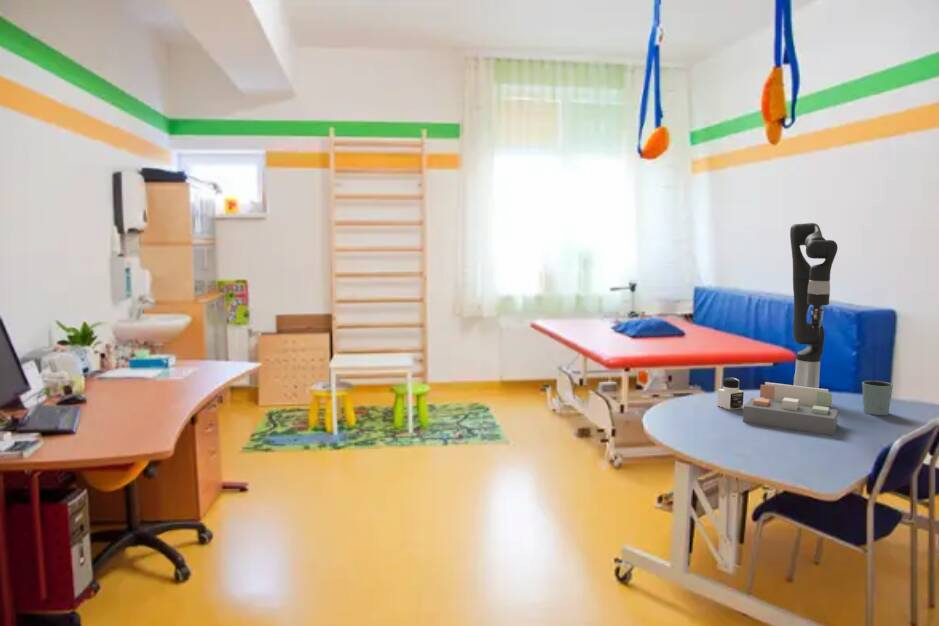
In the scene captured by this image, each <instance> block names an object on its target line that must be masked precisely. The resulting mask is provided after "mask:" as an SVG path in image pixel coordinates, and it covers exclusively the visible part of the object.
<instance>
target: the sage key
mask: <svg viewBox="0 0 939 626" xmlns="http://www.w3.org/2000/svg"><path fill="white" fill-rule="evenodd" d="M829 409H830V406H827V407H822V406H813V408H812V413H818V414H825V415H829Z"/></svg>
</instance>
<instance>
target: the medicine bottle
mask: <svg viewBox="0 0 939 626" xmlns="http://www.w3.org/2000/svg"><path fill="white" fill-rule="evenodd" d="M722 382H723V383H722V388H719V389H717V402H716V403H717V404H716V405H717V407H719V406H720V407H719V408H722V407H723V408H722V409H726V410H729V411H732V410H738V409H739V410H741V409H744V395H745V394H744V391H743V390H740V380H739V379H737V378H735V377H725V378H723V380H722Z"/></svg>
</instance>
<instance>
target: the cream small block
mask: <svg viewBox="0 0 939 626" xmlns="http://www.w3.org/2000/svg"><path fill="white" fill-rule="evenodd" d="M782 409H789V410H796V411H798V409H799V399H793V398H784V399H783V400H782Z"/></svg>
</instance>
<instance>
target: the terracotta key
mask: <svg viewBox="0 0 939 626" xmlns="http://www.w3.org/2000/svg"><path fill="white" fill-rule="evenodd" d="M754 399H755V400H754V401H753V405H760V406H767V407H768V406H769V405H770V400H769V399H764V398H763V397H756V398H754Z"/></svg>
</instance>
